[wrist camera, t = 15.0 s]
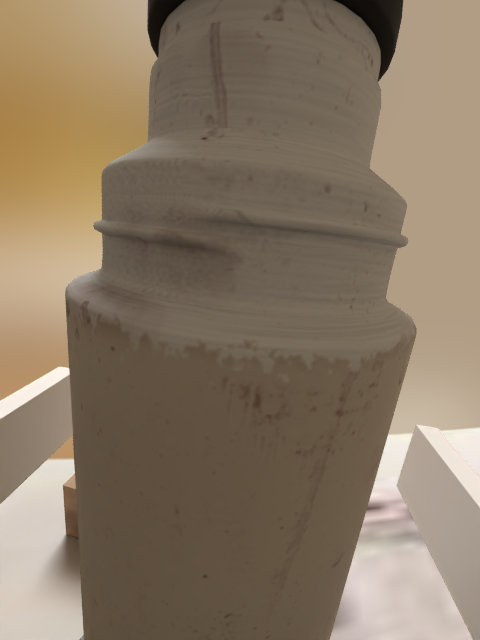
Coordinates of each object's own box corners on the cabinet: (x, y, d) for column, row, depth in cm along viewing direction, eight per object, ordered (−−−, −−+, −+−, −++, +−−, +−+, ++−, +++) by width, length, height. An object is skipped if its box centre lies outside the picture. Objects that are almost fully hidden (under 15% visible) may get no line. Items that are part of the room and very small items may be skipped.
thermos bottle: (183, 614, 19) (223, 116, 11) (301, 724, 15) (480, 83, 7) (53, 810, 12) (-62, -90, 5) (205, 1098, 8) (970, -1354, 1)
